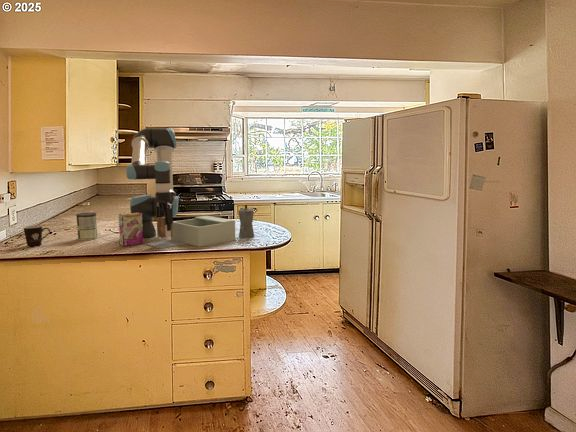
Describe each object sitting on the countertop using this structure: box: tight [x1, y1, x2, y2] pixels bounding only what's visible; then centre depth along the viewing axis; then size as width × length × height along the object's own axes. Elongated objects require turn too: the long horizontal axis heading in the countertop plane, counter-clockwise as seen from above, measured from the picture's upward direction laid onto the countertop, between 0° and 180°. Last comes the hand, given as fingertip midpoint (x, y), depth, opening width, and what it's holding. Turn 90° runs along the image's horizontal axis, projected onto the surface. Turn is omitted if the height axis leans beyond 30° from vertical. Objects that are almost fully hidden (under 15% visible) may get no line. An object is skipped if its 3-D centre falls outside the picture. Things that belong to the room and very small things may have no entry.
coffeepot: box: [237, 204, 255, 239], centre depth 272 cm, size 15×9×18 cm, turn 26°
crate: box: [170, 215, 236, 248], centre depth 263 cm, size 26×24×11 cm
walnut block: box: [156, 217, 173, 239], centre depth 250 cm, size 5×6×10 cm
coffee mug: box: [22, 225, 51, 247], centre depth 250 cm, size 12×9×10 cm
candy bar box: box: [118, 212, 144, 247], centre depth 251 cm, size 11×5×16 cm, turn 131°
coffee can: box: [76, 212, 99, 241], centre depth 267 cm, size 10×10×14 cm
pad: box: [146, 239, 186, 250], centre depth 251 cm, size 14×14×1 cm
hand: (165, 236), depth 251 cm, fingers closed on walnut block, 5 cm apart
